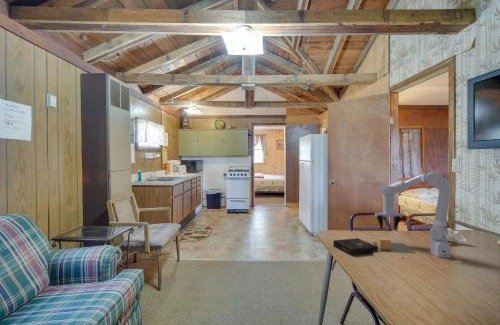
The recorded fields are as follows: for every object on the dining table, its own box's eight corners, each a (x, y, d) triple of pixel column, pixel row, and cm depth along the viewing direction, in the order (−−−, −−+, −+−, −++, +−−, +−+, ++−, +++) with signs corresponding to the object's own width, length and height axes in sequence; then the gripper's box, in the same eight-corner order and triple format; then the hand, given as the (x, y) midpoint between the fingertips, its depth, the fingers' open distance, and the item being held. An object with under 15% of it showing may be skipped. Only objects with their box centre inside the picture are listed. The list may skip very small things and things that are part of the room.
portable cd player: (378, 253, 156) (378, 246, 156) (351, 256, 151) (351, 249, 151) (358, 244, 172) (358, 238, 172) (333, 247, 167) (333, 240, 167)
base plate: (416, 255, 152) (416, 248, 152) (380, 253, 155) (380, 247, 155) (403, 245, 170) (403, 239, 170) (371, 243, 173) (371, 237, 173)
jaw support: (453, 234, 181) (460, 227, 174) (459, 248, 175) (466, 240, 168) (432, 234, 182) (439, 226, 175) (438, 247, 176) (444, 240, 169)
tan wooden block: (390, 249, 159) (391, 240, 159) (380, 248, 160) (380, 239, 160) (387, 246, 165) (387, 237, 165) (377, 245, 165) (377, 237, 165)
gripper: (399, 205, 173) (398, 227, 173) (373, 204, 175) (373, 226, 175) (403, 207, 166) (403, 230, 166) (377, 206, 168) (376, 229, 168)
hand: (388, 228), depth 170 cm, fingers open, 7 cm apart
